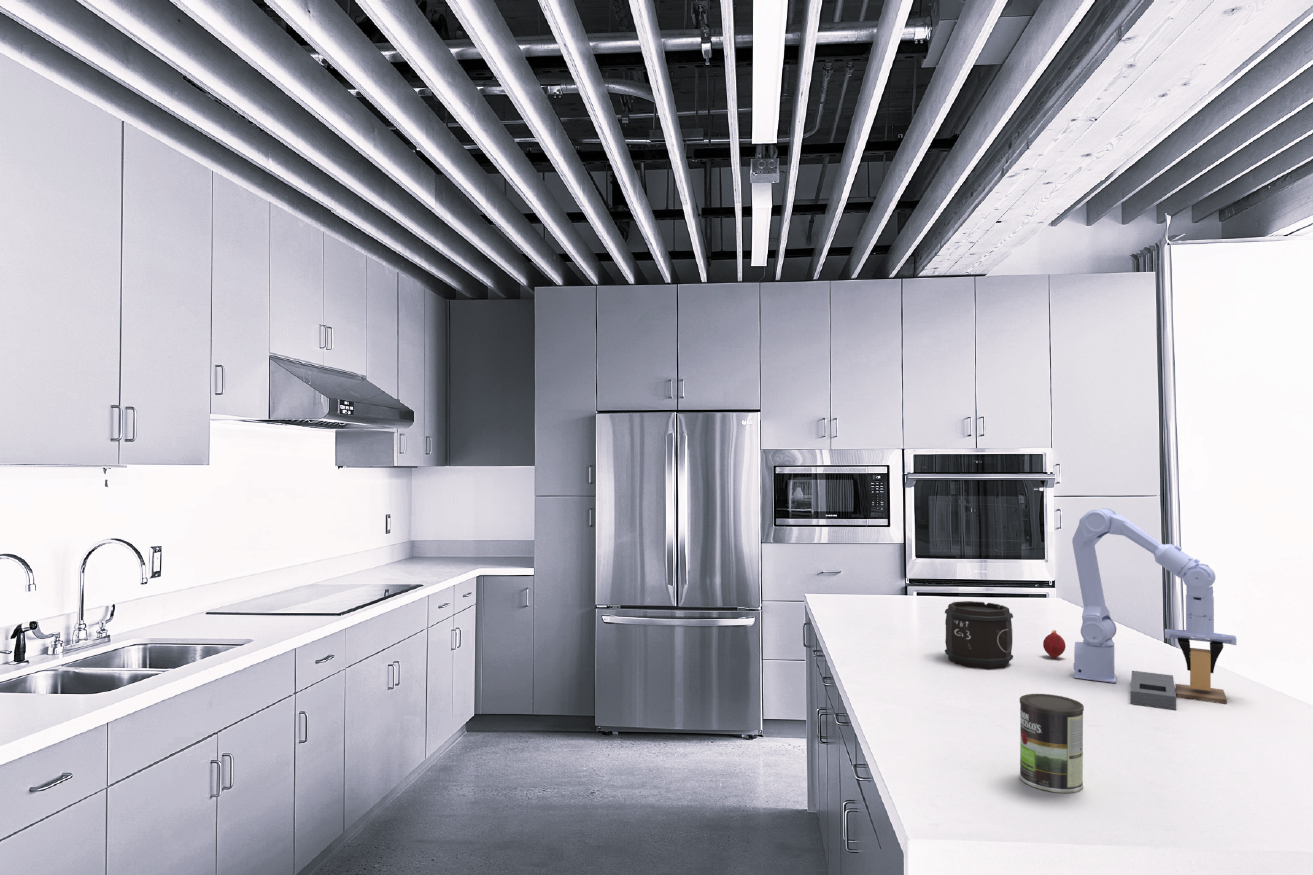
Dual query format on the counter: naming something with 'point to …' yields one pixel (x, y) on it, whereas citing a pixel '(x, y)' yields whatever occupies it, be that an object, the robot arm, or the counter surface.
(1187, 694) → the board
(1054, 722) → the coffee can
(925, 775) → the counter surface
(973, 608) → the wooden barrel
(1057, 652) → the onion
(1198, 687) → the peg
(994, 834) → the counter surface
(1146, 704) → the grey slotted block
